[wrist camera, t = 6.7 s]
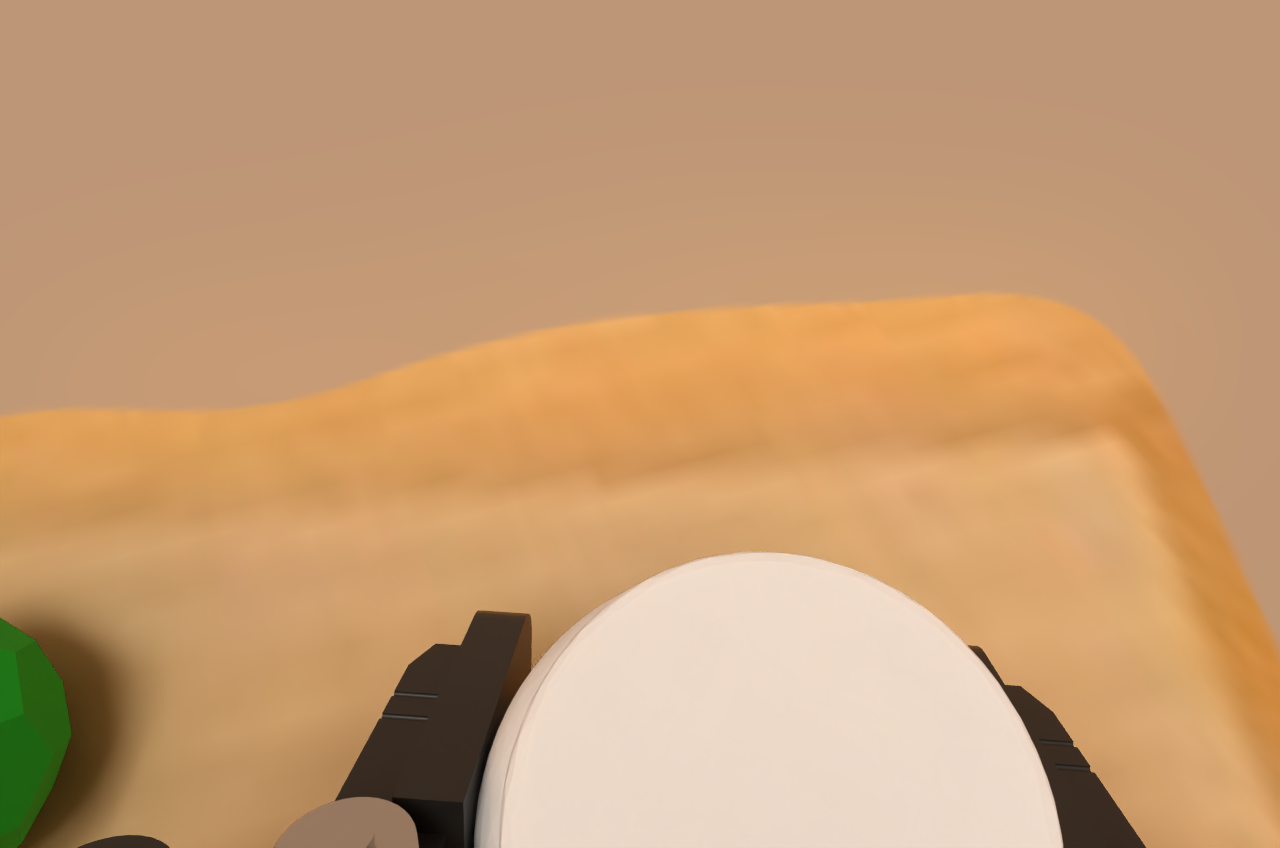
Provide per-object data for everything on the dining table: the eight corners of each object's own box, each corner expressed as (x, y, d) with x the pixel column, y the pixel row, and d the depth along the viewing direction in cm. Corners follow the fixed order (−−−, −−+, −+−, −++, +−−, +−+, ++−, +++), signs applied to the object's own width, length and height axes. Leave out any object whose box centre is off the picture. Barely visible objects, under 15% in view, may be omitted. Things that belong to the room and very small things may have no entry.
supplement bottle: (785, 1084, 13) (1118, 1637, 4) (486, 919, 14) (220, 1066, 5) (883, 748, 15) (1232, 627, 6) (620, 627, 16) (602, 377, 7)
